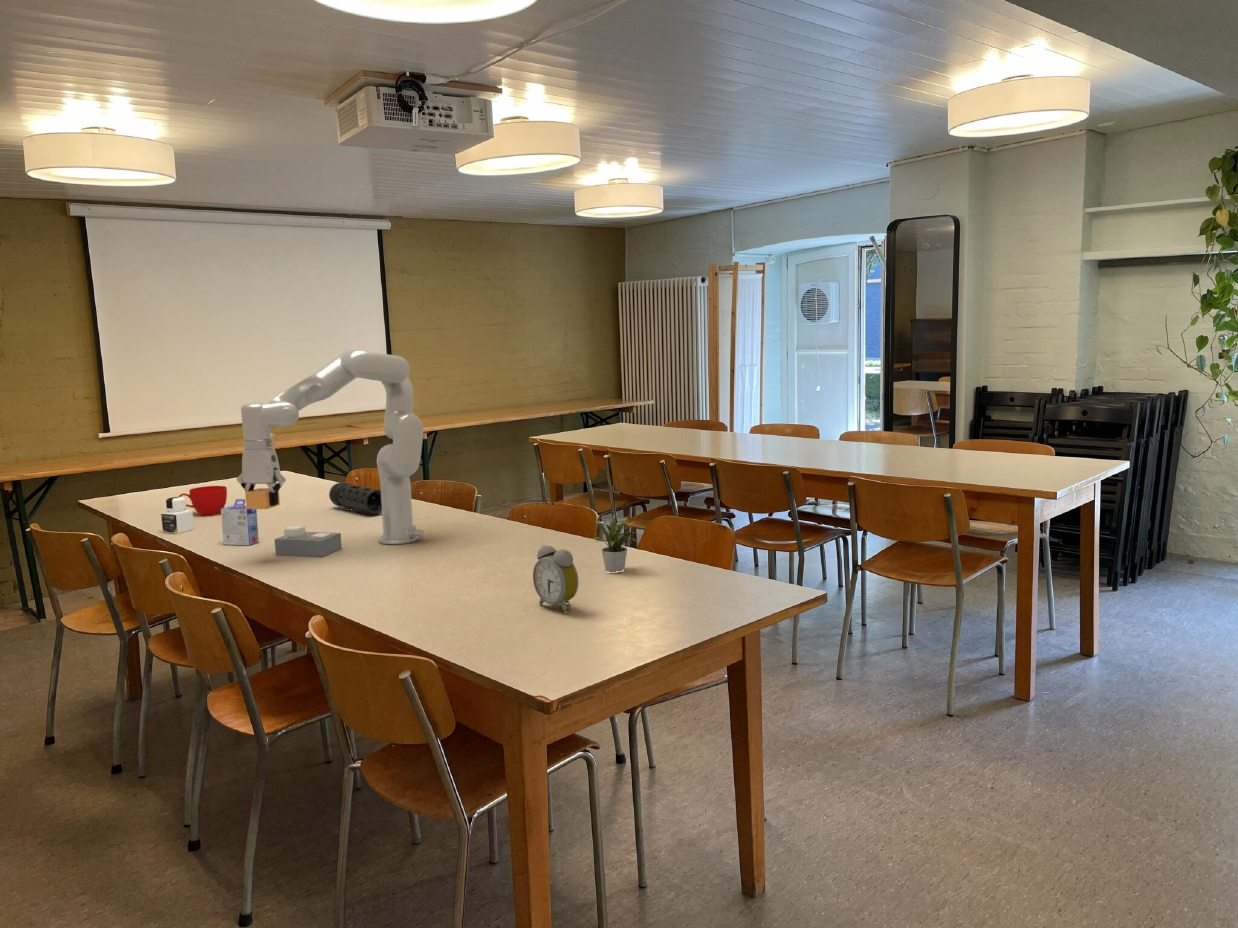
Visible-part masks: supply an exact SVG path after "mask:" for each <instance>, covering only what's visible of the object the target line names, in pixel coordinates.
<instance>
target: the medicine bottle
mask: <svg viewBox="0 0 1238 928" xmlns="http://www.w3.org/2000/svg"><path fill="white" fill-rule="evenodd" d="M165 504H166V511H162V512H161V513H160V515H161V526H162V533H165V534H175V535H179V534H183V533H186V532H190V531H193V530H194V529H195V527H194V525H195V524H194V515H193V514H194V513H193V510H192V509H187V506H186V504H187V502H186V498H185V497H183V496H181V497H179V496H173V497H168V498H167V499H166V500H165Z"/></svg>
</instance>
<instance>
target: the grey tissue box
mask: <svg viewBox="0 0 1238 928" xmlns="http://www.w3.org/2000/svg"><path fill="white" fill-rule="evenodd" d="M317 533H330V534H331V536H329V537H327V538H324V539H318V538H310V536H312V535H315V534H317ZM305 534H306V535H303V536H301V537H298V538H293V537H285V534H284V535H282V536H280V537H277V538H274V547H275V548H274V549H275V550H274V551H275V555H276V556H285V555H289V556H291V557H292V556H293V557H309V558H310V557H311V558H313V557H314V558H323V557H326V556H328V555H329V554H330V555H331V554H333V553H335V552H337V551H339V550H341V549H342V534H341V532H324V531H321V532H320V531H305ZM332 552H333V553H332ZM289 556H288V557H289Z"/></svg>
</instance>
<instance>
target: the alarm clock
mask: <svg viewBox="0 0 1238 928" xmlns="http://www.w3.org/2000/svg"><path fill="white" fill-rule="evenodd" d="M536 559H537V561H536V563H535V565H534V567H533V570H532V580H533V585H534V589H535V591H536V593H537V595H538V596H539V598H540V599H539V603H538V605H539V604H542V605H543V604H544V603H546V604H548V605H559V604H560V606H561V608H562V610H563V612H567V613H568V607H567V604H566V603H569V604H570V600H572V599H573V598H574V597H575V595H577V592H578V589H579V575H578V571H577V568H576V566H575V564H574V557H573V554H572V552H571V551H570V550H567V549H565V548H564V549H558V550H557V549H555V547H553V546H551V545H545V544H543V545H542V546H541V547H540V548H539V549H538V550H537V553H536Z"/></svg>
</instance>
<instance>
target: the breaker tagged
mask: <svg viewBox="0 0 1238 928" xmlns="http://www.w3.org/2000/svg"><path fill="white" fill-rule="evenodd" d="M330 533H331V532H328V533H317V534H315V535H312V536H310V538H318V539H324V538H327V537H329V536H331V534H330Z"/></svg>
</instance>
